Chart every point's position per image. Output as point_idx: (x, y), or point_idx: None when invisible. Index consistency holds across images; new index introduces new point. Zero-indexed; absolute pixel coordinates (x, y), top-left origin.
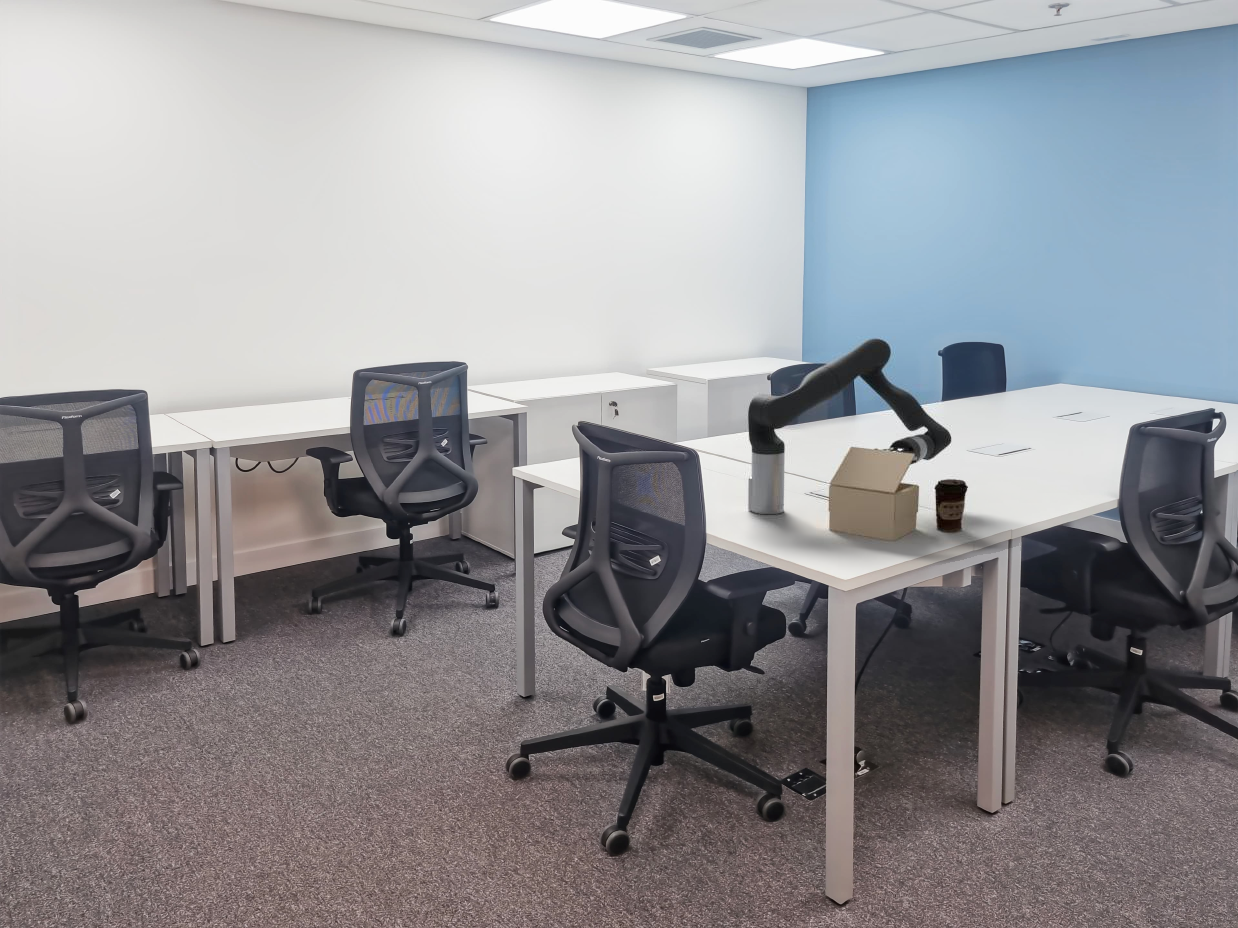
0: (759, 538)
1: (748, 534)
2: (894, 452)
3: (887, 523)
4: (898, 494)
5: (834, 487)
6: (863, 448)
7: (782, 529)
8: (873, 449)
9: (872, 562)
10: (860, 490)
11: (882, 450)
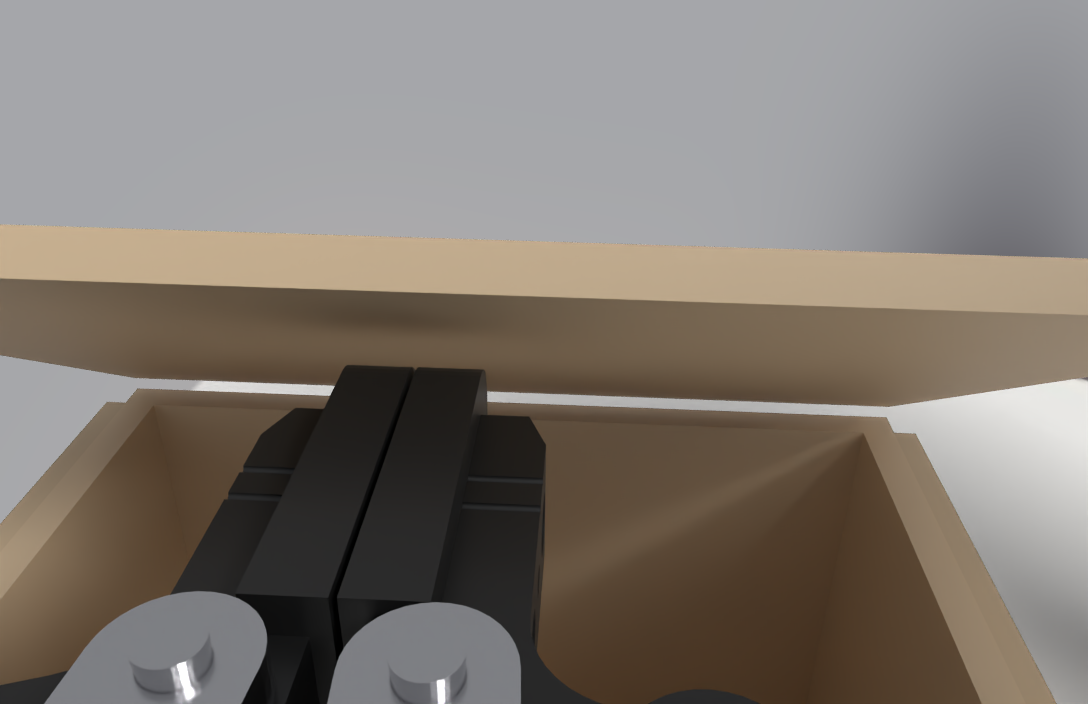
0: (961, 435)
1: (1073, 459)
2: (22, 231)
3: None
4: (94, 423)
5: (828, 424)
6: (976, 257)
7: (1061, 610)
8: (656, 245)
9: (276, 386)
10: (518, 406)
11: (376, 237)
